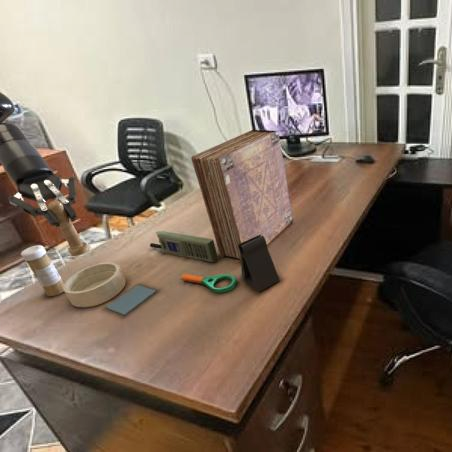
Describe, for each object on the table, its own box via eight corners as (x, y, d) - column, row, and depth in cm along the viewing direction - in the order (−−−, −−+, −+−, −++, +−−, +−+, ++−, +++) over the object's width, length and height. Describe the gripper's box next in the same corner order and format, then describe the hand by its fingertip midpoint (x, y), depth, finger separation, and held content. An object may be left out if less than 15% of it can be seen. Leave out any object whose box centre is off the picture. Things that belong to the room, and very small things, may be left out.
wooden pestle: (76, 257, 84) (48, 205, 77) (67, 254, 86) (38, 203, 79) (92, 248, 87) (66, 198, 81) (83, 245, 89) (56, 196, 82)
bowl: (91, 314, 84) (82, 298, 81) (61, 301, 89) (52, 286, 87) (136, 282, 93) (129, 267, 91) (107, 273, 99) (100, 258, 96)
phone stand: (280, 281, 88) (271, 241, 82) (259, 293, 85) (248, 252, 79) (262, 267, 94) (253, 228, 88) (242, 277, 91) (231, 238, 85)
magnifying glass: (241, 279, 90) (239, 274, 89) (228, 294, 85) (226, 289, 85) (192, 273, 95) (190, 268, 94) (177, 287, 90) (175, 282, 89)
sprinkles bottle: (49, 289, 94) (23, 248, 88) (68, 283, 96) (44, 242, 89) (45, 299, 91) (17, 256, 84) (65, 293, 92) (40, 250, 86)
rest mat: (125, 315, 82) (124, 314, 82) (106, 308, 85) (105, 307, 85) (156, 291, 89) (156, 290, 89) (138, 285, 92) (137, 284, 92)
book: (246, 263, 96) (218, 159, 82) (220, 257, 100) (189, 157, 85) (293, 220, 116) (278, 130, 101) (270, 216, 120) (252, 129, 105)
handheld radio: (212, 264, 98) (148, 251, 107) (220, 258, 100) (156, 246, 110) (206, 243, 95) (141, 232, 104) (214, 237, 97) (149, 227, 107)
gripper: (-18, 164, 75) (27, 228, 74) (56, 146, 84) (97, 202, 83) (-9, 183, 81) (33, 242, 79) (60, 164, 90) (98, 217, 88)
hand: (65, 222), depth 81 cm, fingers closed on wooden pestle, 2 cm apart
